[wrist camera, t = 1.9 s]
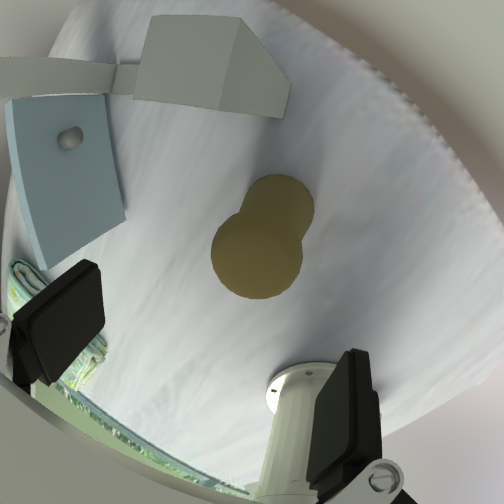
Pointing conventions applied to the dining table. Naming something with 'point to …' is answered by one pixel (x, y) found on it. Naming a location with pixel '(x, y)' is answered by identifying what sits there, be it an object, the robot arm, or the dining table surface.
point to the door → (63, 172)
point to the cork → (264, 238)
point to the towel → (24, 289)
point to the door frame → (169, 69)
